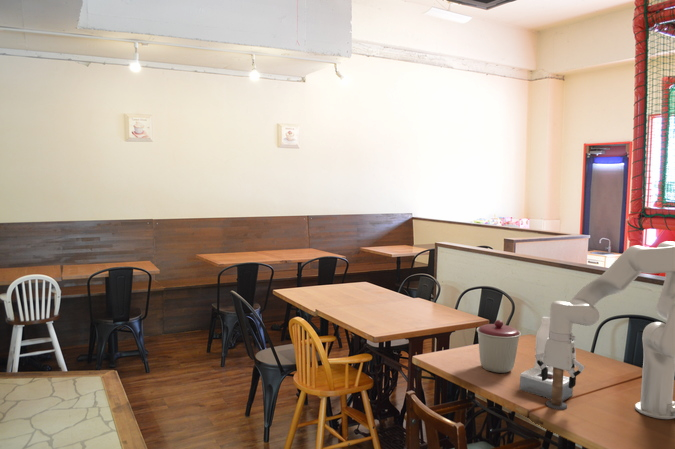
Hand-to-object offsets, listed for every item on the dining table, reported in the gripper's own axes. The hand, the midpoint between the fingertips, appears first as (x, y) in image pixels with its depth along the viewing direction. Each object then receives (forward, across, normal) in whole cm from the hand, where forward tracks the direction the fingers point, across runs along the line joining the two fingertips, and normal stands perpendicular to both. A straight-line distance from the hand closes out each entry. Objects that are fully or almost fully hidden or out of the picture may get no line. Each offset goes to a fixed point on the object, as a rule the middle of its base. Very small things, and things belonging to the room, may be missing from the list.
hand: (557, 383), depth 193 cm
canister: (+8, +34, -19) cm, 40 cm away
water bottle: (+8, +16, -24) cm, 30 cm away
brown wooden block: (+7, 0, 0) cm, 8 cm away
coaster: (+8, 0, 0) cm, 8 cm away
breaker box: (+8, +8, -9) cm, 15 cm away
